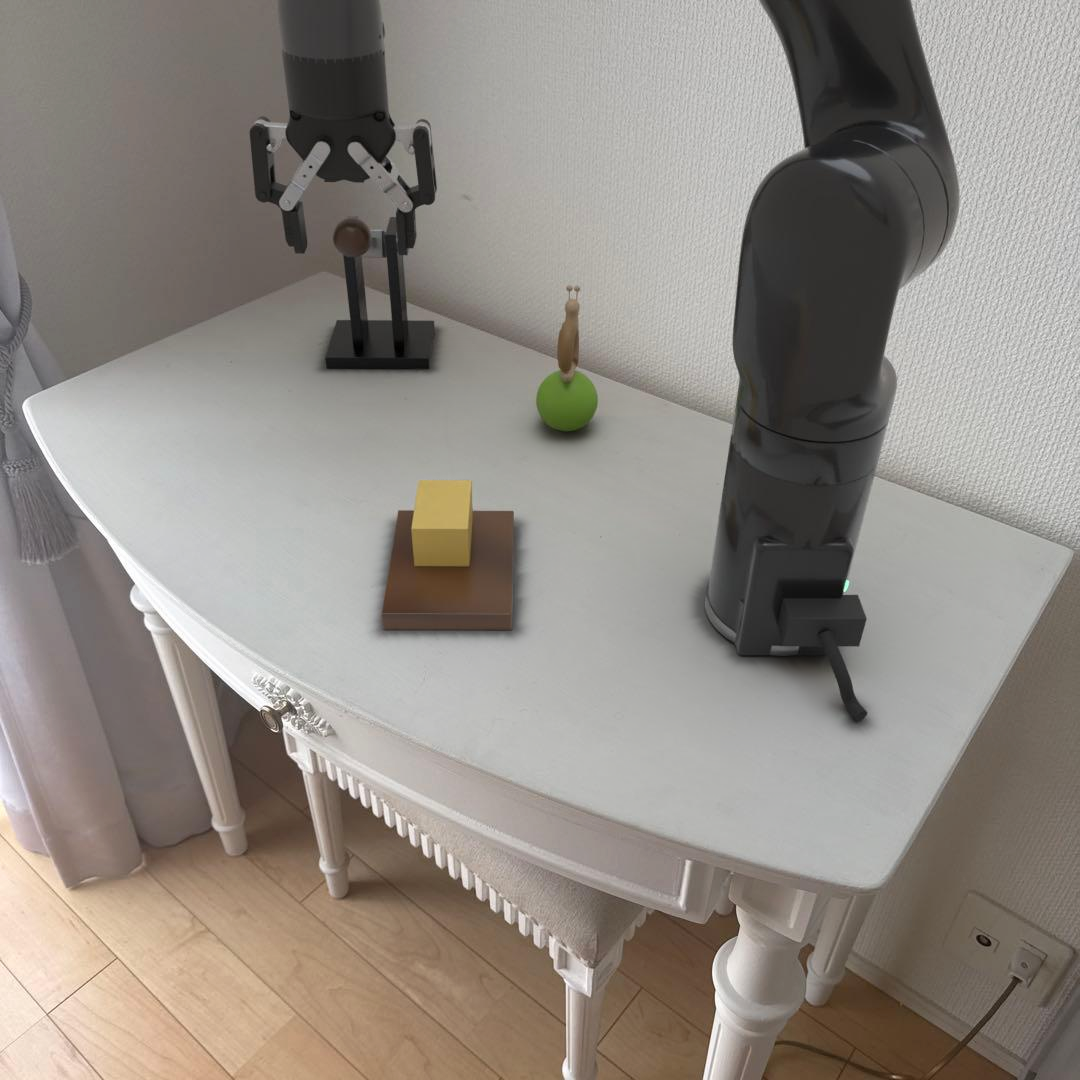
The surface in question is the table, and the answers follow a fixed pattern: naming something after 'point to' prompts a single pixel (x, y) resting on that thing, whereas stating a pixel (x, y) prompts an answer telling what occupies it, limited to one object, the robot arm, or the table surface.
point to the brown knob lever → (359, 239)
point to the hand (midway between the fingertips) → (353, 250)
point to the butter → (442, 523)
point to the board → (453, 580)
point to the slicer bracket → (380, 322)
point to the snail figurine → (567, 380)
